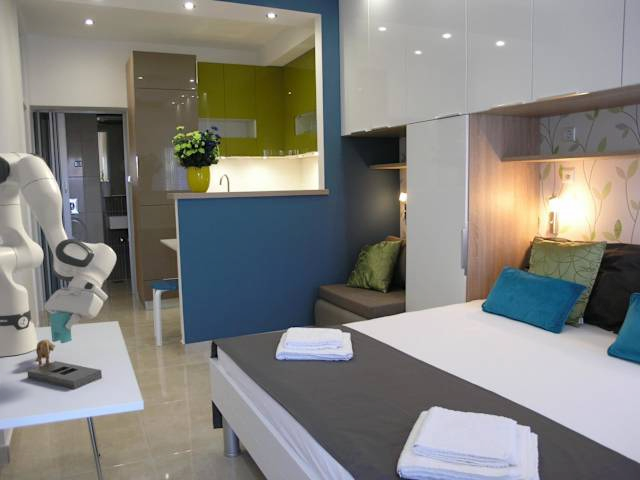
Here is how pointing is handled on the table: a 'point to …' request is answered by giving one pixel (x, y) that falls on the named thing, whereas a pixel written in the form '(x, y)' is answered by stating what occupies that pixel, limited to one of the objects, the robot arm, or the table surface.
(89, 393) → the table surface
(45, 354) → the lion figurine
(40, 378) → the gray rectangular base
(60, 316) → the teal rectangular prism
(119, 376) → the table surface
